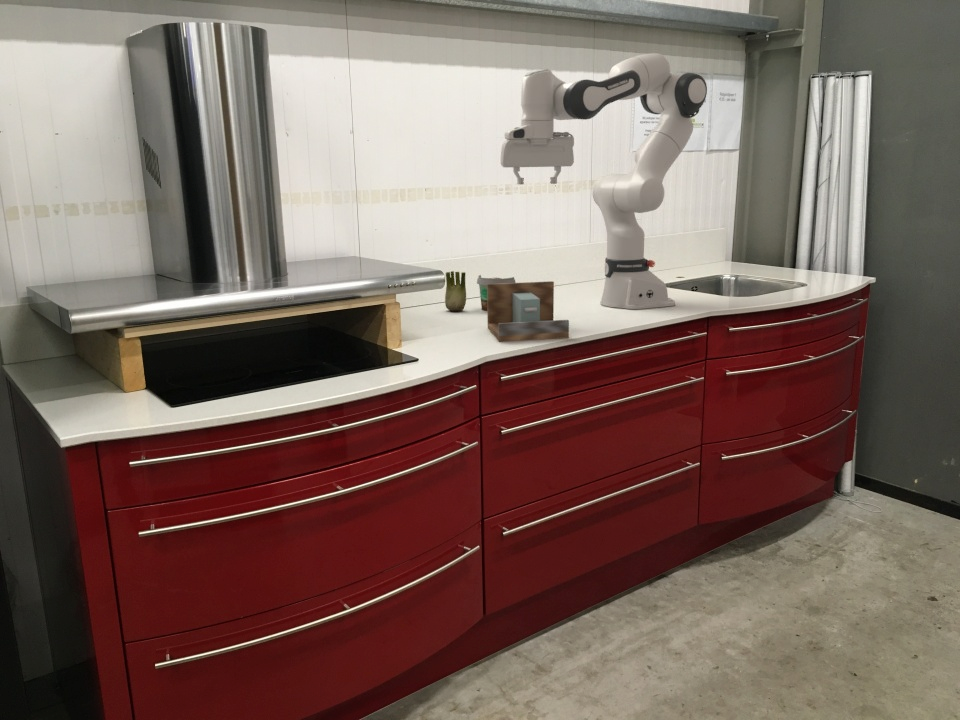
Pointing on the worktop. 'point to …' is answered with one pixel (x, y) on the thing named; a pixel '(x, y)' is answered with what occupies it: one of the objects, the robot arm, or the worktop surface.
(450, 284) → the fennel bulb
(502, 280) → the food container
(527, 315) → the mini cabinet
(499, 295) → the wooden l-shaped stand
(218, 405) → the worktop surface
